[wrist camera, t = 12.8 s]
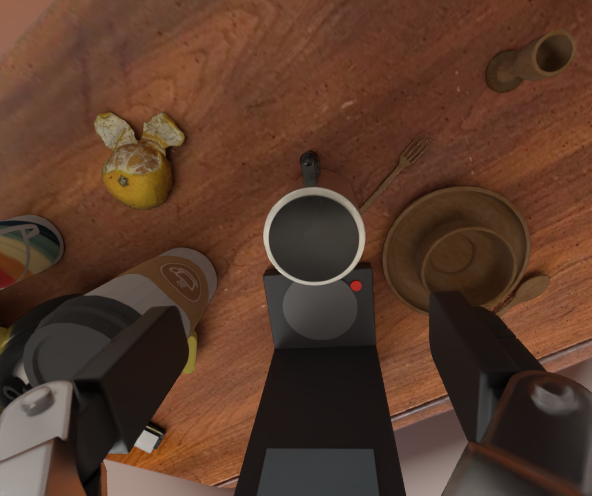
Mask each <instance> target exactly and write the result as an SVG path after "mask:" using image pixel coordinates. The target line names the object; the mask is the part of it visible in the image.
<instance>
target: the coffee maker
mask: <svg viewBox="0 0 592 496" xmlns="http://www.w3.org/2000/svg"><path fill="white" fill-rule="evenodd" d="M263 280H264V286H265V292H266V298H267V304H268V310H269V317H270V323H271V329H272V335H273V341H274V347H275V350H274V354H273V357H272V361H271V365H270V368H269V372H268V375H267V379H266V382H265V386H264V390H263V393H262V397H261V400H260V404H259V408H258V411H257V415H256V418H255V422H254V425H253V429H252V433H251V436H250V440H249V443H248V447H247V451H246V454H245V458H244V461H243V465H242V468H241V472H240V476H239V479H238V483H237V486H236V490H235V493H234V496H406V492H405V488H404V482H403V478H402V472H401V467H400V462H399V457H398V452H397V447H396V442H395V438H394V432H393V427H392V422H391V418H390V413H389V408H388V403H387V398H386V393H385V388H384V383H383V378H382V373H381V368H380V363H379V358H378V353H377V348H376V336H375V318H374V299H373V280H372V267H371V264H370V263H358V264H357V265H356V266H355V267H354V269H353V270H352V271H351V272H350V273H349V274H347V275H346V276H344V277H343V278H341V279H339V280H338V281H335V282H333V283H329V284H325V285H305V284H301V283H298V282H295V281H293V280H291V279H289V278H287V277H286V276H284V275H283V274H282V273H280V272H279V271H278V270H277V269H274V270H266V271H265V273H264V275H263Z"/></svg>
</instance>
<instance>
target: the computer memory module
mask: <svg viewBox="0 0 592 496" xmlns="http://www.w3.org/2000/svg"><path fill="white" fill-rule="evenodd" d="M165 433H166V432H164V431H163V430H161V429H159V428H157V427H155V426H153V425H151V424H149V423H148V425H147V426H146V428H145V429H144V431H143V432H142V434H141V435H140V437H139V438H138V440H137V441H136V443H135V445H134V446H136V447H138V448H140V449H142V450H144V451H146V452H148V453H151V451H152V450H153V448H154V449H156V450H157V448H158V446H159V444H160V442H161V440H162V438H163V436H164V435H165Z"/></svg>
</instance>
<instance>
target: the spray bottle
mask: <svg viewBox="0 0 592 496" xmlns="http://www.w3.org/2000/svg"><path fill="white" fill-rule="evenodd" d="M63 251H64V244H63V240H62V237H61V235H60V233H59V231H58V230H57V229H56V227H55V226H54V225H53V224H52V223H50V222H49V221H48V220H46V219H44V218H42V217H39V216H36V215H24V216H19V217H14V218H10V219H6V220H2V221H0V290H2V289H4V288H6V287H8V286H11V285H13V284H15V283H17V282H19V281H21V280H24V279H26V278H28V277H30V276H32V275H35V274H37V273H39V272H41V271H43V270H45V269H47V268H49V267H51V266H53V265H55V264H56V263H57V262H58V261H59V260H60V259H61V257H62V255H63Z"/></svg>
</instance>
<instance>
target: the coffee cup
mask: <svg viewBox="0 0 592 496" xmlns="http://www.w3.org/2000/svg"><path fill="white" fill-rule="evenodd" d="M216 288H217V277H216V272H215V269H214V267H213V265H212V263H211V262H210V261H209V260H208V258H207V257H205V256H204V255H203V254H202V253H200V252H198V251H196V250H193V249H189V248H184V247H182V248H174V249H171V250H168V251H166V252H164V253H162V254H160V255H158V256H157V257H154V258H151V259H149V260H147V261H145V262H143V263H141V264H139V265H137V266H135V267H133V268H131V269H130V270H128V271H126V272H124V273H122V274H120V275H118V276H116V277H115V278H113V279H112V280H111V281H109V282H107V283H106V284H104V285H102V286H100V287H98V288H96V289H94V290H92V291H90V292H89V293H87V294H85V295H83V296H79V297H76V298H72V299H69V300H66V301H65V302H64V303H63V304H61V305H60V306H59V307H57V308H56V309H55V310H54V311H53V312H52V313H50V314H49V315H48V316H46V317H45V318H44V319H42V320H41V322H40V324H39V325H38V327H37V328H36V330H35V333H33V334H32V335H31V337H30V338H29V340H28V341H27V343H26V345H25V348H24V353H23V364H24V371H25V373H26V376H27V378H28V381H29V383H30V385H31V386H32V388H35V387H37V386H40V385H42V384H45V383H48V382H52V381H58V380H65V381H67V380H68V379H69V378H71V377H72V376H73V375H74V374H75V373H76V372H77V371H78V370H79V369H80V368H81V367H83V366H84V365H85V364H86V363H87V362H88V361H89V360H90V359H91V358H92V357H93V356H95V355H96V354H97V353H98V352H101V349H102V348H103V347H104V346H105V345H107V344H108V343H110V341H111V340H112V339H113V338H114V337H115V336H116V335H118V334H119V333H120V332H121V331H122V330H124V329H126V328H127V327H129V326H131V325H132V324H133V323H134V322H136V321H137V320H138V319H139V318H140V317H141V316H142V315H143V314H144V313H145V312H146V311H147V310H148V309H149V308H151V307H154V306H172V305H174V306H177V307H178V309H179V311H180V314H181V318H182V321H183V325H184V329H185V333H186V337H187V341H188V339H189V337H190V336H191V334H192V332H193V331H194V329H195V327H196V325H197V324H198V322H199V320H200V319H201V317H202V315H203V313H204V312H205V309H206V307H207V305H208V304H209V302H210V300H211V298H212V297H213V295H214V293H215V290H216Z"/></svg>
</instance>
